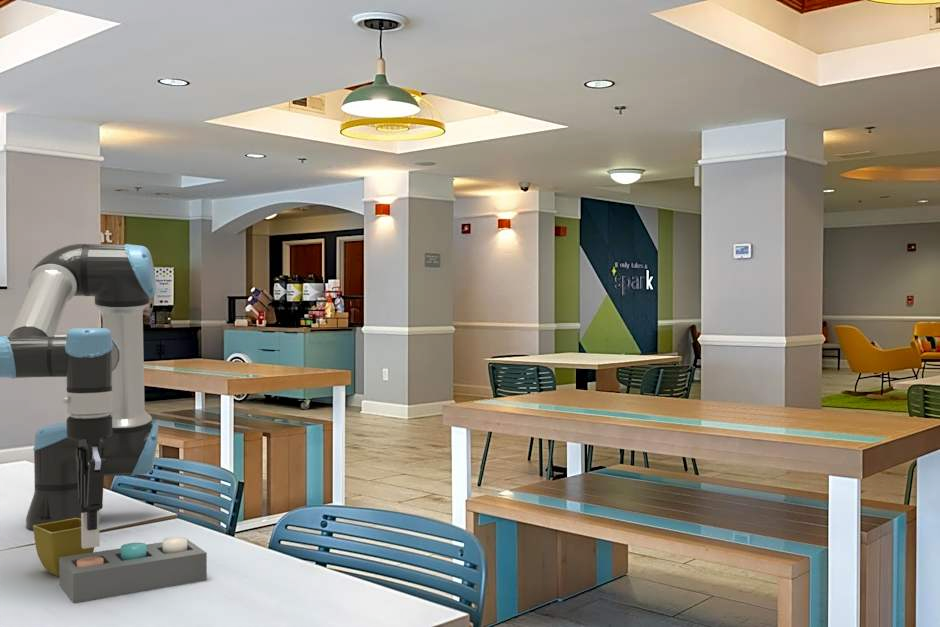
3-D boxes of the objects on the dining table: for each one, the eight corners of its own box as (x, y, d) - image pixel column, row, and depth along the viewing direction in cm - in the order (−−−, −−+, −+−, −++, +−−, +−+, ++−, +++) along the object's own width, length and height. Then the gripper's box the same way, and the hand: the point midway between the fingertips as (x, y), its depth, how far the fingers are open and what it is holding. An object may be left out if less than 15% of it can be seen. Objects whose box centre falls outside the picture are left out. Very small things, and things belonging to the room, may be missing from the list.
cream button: (159, 555, 171) (159, 538, 171) (183, 552, 174) (183, 535, 174) (166, 561, 167) (166, 544, 167) (190, 557, 170) (190, 540, 170)
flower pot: (32, 572, 173) (31, 524, 172) (77, 562, 179) (77, 516, 179) (51, 581, 167) (51, 532, 166) (98, 571, 173) (98, 524, 173)
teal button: (118, 562, 167) (118, 544, 167) (142, 558, 169) (142, 541, 169) (124, 568, 163) (124, 550, 163) (149, 564, 166) (149, 546, 166)
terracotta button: (74, 577, 163) (74, 559, 162) (100, 572, 165) (100, 555, 165) (79, 583, 159) (79, 565, 159) (106, 579, 161) (106, 561, 161)
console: (59, 584, 165) (59, 557, 165) (186, 564, 178) (186, 538, 178) (73, 603, 155) (73, 573, 155) (206, 579, 168) (206, 552, 168)
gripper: (59, 412, 165) (60, 541, 166) (74, 421, 154) (75, 559, 155) (103, 409, 169) (103, 535, 170) (120, 417, 158) (121, 552, 159)
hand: (90, 546), depth 162 cm, fingers closed
